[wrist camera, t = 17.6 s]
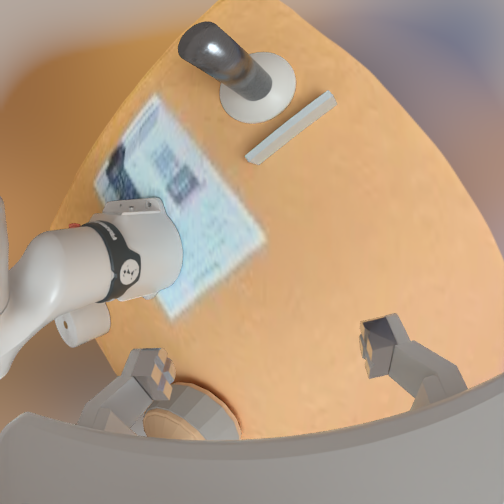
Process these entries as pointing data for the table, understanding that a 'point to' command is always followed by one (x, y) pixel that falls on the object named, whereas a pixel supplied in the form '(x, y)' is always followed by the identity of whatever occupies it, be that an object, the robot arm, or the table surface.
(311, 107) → the acrylic wall
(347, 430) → the robot arm
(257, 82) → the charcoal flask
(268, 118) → the resting pad
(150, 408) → the desk lamp
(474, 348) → the table surface
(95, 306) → the toilet tissue
